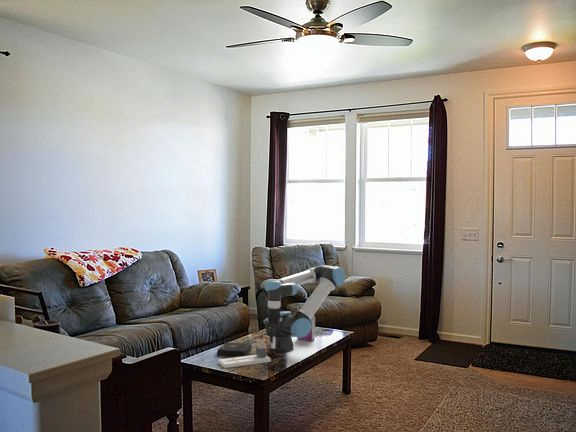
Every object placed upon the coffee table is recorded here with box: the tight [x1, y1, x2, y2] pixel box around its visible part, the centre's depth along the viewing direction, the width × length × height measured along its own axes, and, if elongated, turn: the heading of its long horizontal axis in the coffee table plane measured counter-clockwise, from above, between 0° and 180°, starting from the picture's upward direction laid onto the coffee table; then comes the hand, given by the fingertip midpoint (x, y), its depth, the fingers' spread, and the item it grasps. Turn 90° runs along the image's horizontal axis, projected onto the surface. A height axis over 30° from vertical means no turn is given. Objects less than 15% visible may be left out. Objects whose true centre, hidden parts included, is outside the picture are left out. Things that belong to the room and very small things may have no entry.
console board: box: [218, 354, 272, 369], centre depth 291 cm, size 28×10×2 cm, turn 118°
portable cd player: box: [216, 342, 252, 358], centre depth 311 cm, size 16×17×4 cm
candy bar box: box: [296, 315, 316, 342], centre depth 344 cm, size 11×5×16 cm, turn 63°
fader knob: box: [255, 345, 267, 357], centre depth 296 cm, size 4×5×5 cm
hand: (273, 347), depth 300 cm, fingers closed
